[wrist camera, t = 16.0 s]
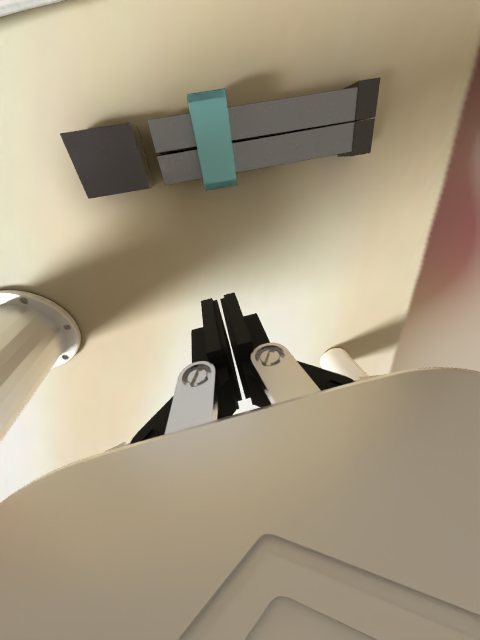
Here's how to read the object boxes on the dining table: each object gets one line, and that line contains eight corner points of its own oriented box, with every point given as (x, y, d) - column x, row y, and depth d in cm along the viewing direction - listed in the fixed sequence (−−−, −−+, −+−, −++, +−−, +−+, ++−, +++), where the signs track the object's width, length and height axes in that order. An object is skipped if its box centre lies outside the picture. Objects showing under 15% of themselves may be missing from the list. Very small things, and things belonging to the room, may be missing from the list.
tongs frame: (99, 194, 27) (88, 198, 24) (73, 131, 23) (56, 127, 21) (352, 151, 28) (370, 150, 25) (359, 87, 25) (380, 77, 22)
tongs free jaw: (168, 187, 27) (166, 190, 24) (160, 157, 25) (156, 156, 23) (354, 153, 28) (370, 152, 25) (357, 122, 26) (374, 118, 24)
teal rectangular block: (203, 186, 27) (205, 190, 23) (188, 106, 23) (187, 94, 19) (230, 181, 27) (237, 184, 23) (219, 101, 23) (224, 88, 19)
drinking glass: (335, 337, 44) (392, 407, 31) (355, 353, 47) (414, 422, 34) (307, 361, 46) (350, 435, 33) (328, 375, 49) (374, 447, 36)
